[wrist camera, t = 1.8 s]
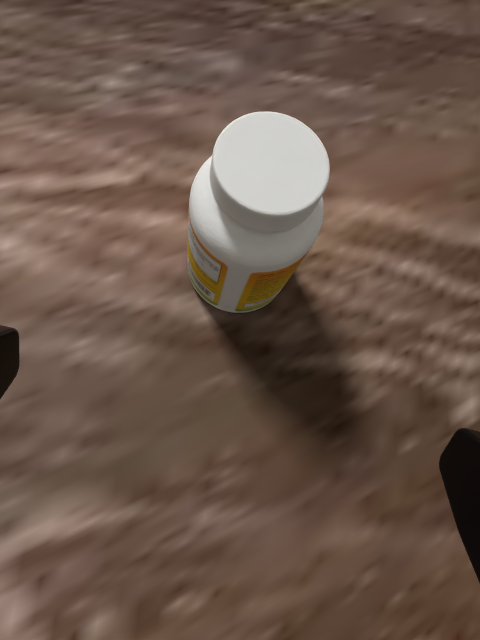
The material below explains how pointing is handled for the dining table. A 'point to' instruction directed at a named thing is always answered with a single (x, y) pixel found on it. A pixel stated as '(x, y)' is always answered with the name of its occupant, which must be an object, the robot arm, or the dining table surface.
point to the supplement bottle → (255, 210)
